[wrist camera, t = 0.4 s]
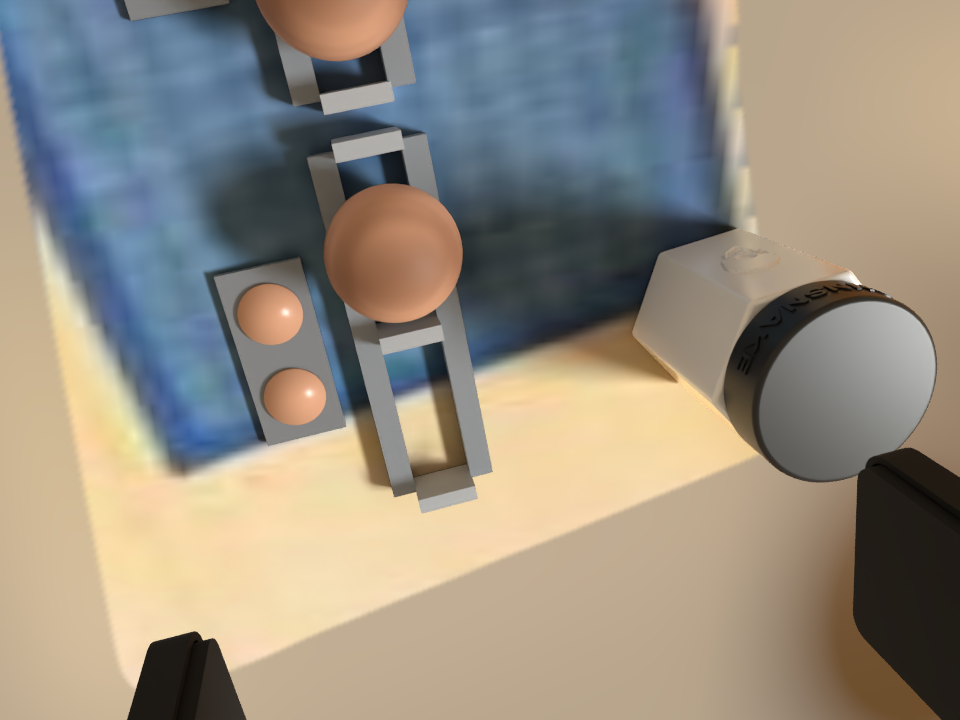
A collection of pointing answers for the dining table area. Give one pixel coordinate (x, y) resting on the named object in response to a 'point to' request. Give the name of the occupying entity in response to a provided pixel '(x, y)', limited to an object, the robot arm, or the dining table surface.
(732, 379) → the jar
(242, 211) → the dining table surface
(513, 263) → the dining table surface
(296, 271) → the tiles
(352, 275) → the terracotta ball
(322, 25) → the terracotta ball
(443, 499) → the grey ball rail
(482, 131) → the dining table surface
